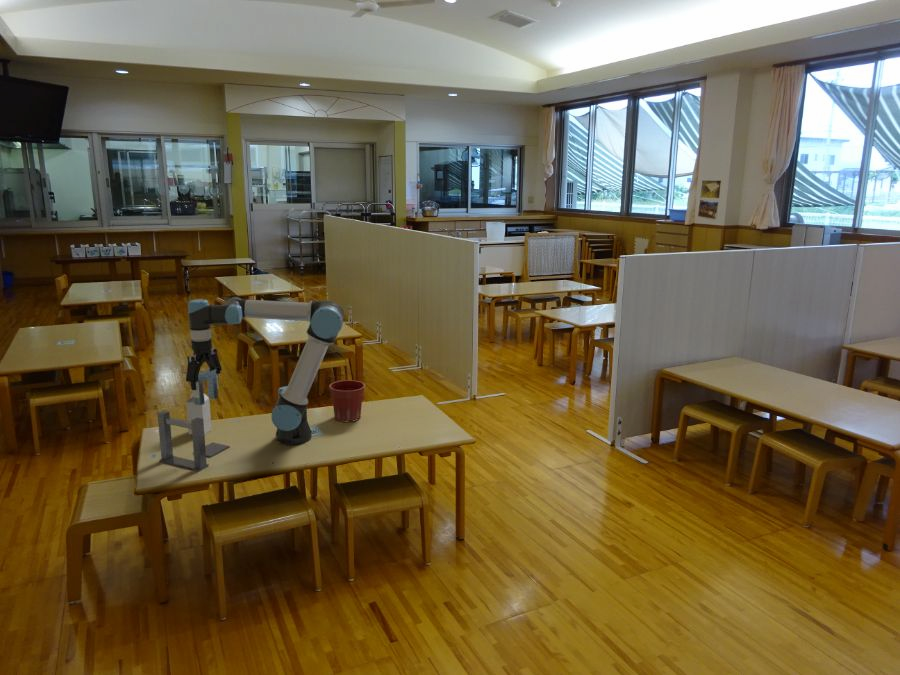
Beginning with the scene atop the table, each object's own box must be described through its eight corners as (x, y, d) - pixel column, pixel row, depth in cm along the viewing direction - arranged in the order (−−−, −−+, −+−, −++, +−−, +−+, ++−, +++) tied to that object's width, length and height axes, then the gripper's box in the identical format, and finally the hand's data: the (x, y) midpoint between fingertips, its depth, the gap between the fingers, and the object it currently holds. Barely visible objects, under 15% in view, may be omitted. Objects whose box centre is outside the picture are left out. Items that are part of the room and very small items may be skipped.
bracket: (212, 396, 262) (209, 368, 259) (218, 397, 261) (215, 369, 258) (194, 404, 253) (191, 375, 250) (200, 405, 252) (198, 376, 249)
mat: (229, 447, 267) (229, 446, 267) (210, 457, 257) (210, 456, 257) (212, 443, 270) (212, 442, 270) (193, 453, 261) (193, 452, 260)
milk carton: (211, 429, 285) (208, 389, 280) (204, 436, 278) (201, 394, 273) (196, 428, 286) (193, 388, 281) (188, 435, 279) (185, 393, 274)
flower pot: (339, 409, 313) (338, 378, 309) (370, 413, 309) (370, 382, 305) (324, 421, 298) (323, 388, 294) (356, 426, 294) (356, 392, 290)
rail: (208, 466, 250) (205, 417, 245) (199, 471, 245) (195, 422, 240) (169, 456, 257) (165, 409, 252) (159, 461, 253) (155, 413, 248)
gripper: (213, 332, 263) (218, 383, 268) (171, 345, 242) (177, 400, 248) (228, 333, 260) (232, 386, 265) (187, 347, 239) (192, 403, 245)
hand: (206, 393), depth 256 cm, fingers closed on bracket, 10 cm apart
